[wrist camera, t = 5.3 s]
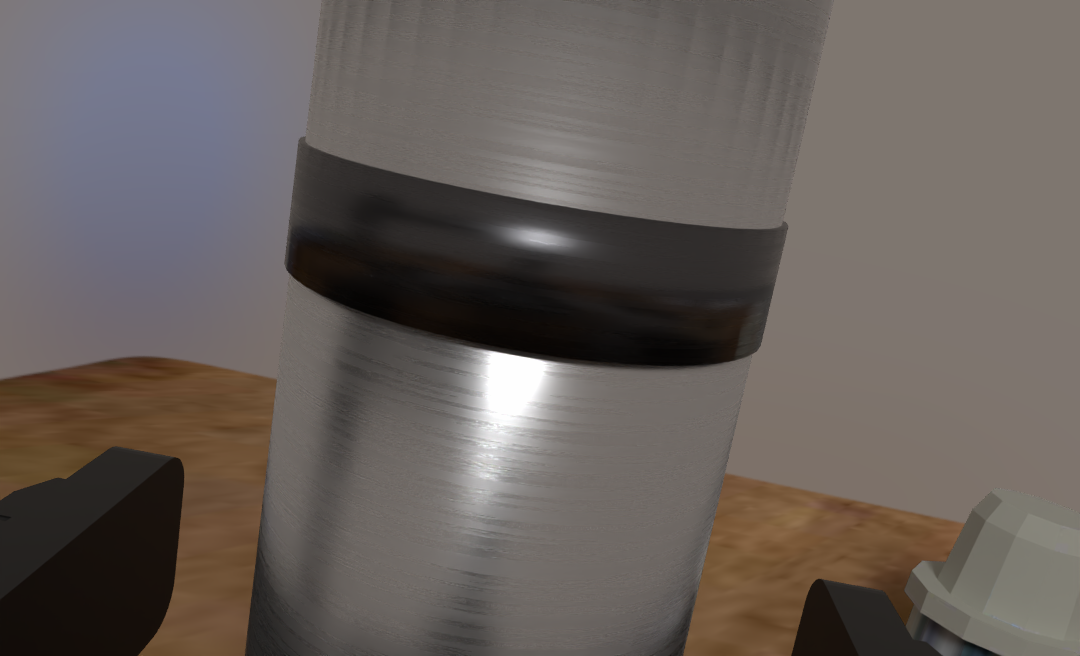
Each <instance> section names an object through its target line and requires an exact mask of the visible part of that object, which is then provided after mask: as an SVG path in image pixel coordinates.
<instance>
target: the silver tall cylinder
mask: <svg viewBox="0 0 1080 656" xmlns="http://www.w3.org/2000/svg"><path fill="white" fill-rule="evenodd" d="M833 1H834V0H322V3H321V11H320V20H319V28H318V37H317V45H316V54H315V62H314V71H313V80H312V88H311V96H310V105H309V114H308V122H307V130H306V136H305V137H302V138H300V140H299V144H298V151H297V160H296V168H295V178H294V186H293V195H292V203H291V213H290V220H289V229H288V238H287V246H286V255H285V266H286V269H287V271H288V272H289V273H290V275H289V284H288V292H287V301H286V309H285V317H284V327H283V334H282V343H281V353H280V360H279V368H278V377H277V385H276V394H275V402H274V411H273V419H272V428H271V436H270V445H269V453H268V462H267V470H266V479H265V487H264V496H263V504H262V513H261V521H260V530H259V538H258V547H257V556H256V564H255V573H254V581H253V590H252V598H251V607H250V615H249V624H248V632H247V641H246V649H245V656H683V653H684V648H685V644H686V640H687V635H688V631H689V627H690V622H691V618H692V614H693V609H694V605H695V601H696V596H697V592H698V588H699V583H700V579H701V575H702V570H703V566H704V562H705V557H706V553H707V549H708V544H709V540H710V536H711V531H712V527H713V523H714V518H715V514H716V510H717V505H718V501H719V497H720V492H721V488H722V484H723V479H724V475H725V471H726V466H727V462H728V458H729V453H730V449H731V444H732V440H733V436H734V431H735V427H736V423H737V418H738V414H739V409H740V405H741V400H742V396H743V392H744V388H745V383H746V379H747V375H748V371H749V366H750V362H751V358H752V354H753V353H755V352H756V351H757V350H758V349H759V347H760V346H761V342H762V338H763V333H764V329H765V325H766V320H767V316H768V311H769V307H770V303H771V299H772V294H773V290H774V286H775V282H776V277H777V273H778V269H779V264H780V260H781V256H782V251H783V247H784V243H785V238H786V234H787V230H788V225H787V223H786V222H784V221H783V219H784V214H785V210H786V205H787V201H788V197H789V193H790V188H791V184H792V180H793V175H794V171H795V167H796V162H797V158H798V153H799V149H800V145H801V141H802V136H803V132H804V128H805V123H806V119H807V115H808V110H809V106H810V102H811V97H812V93H813V88H814V84H815V80H816V75H817V71H818V67H819V63H820V58H821V54H822V49H823V45H824V41H825V37H826V32H827V28H828V23H829V19H830V15H831V11H832V6H833Z"/></svg>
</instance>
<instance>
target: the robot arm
mask: <svg viewBox="0 0 1080 656" xmlns="http://www.w3.org/2000/svg"><path fill="white" fill-rule="evenodd" d="M183 488H184V469H183V465H182V462H181V460H180V459H179V458H176V457H170V456H165V455H160V454H154V453H149V452H144V451H138V450H133V449H128V448H122V447H117V446H116V447H112V448H110V449H108V450H107V451H105V452H104V453H103V454H101V455H100V456H98V457H97V458H95V459H94V460H93V461H91V462H90V463H88V464H87V465H85V466H84V467H83V468H81V469H80V470H78V471H77V472H75V473H74V474H73V475H71V476H70V477H68V478H67V479H62V478H55V479H52V480H49V481H46V482H42V483H39V484H36V485H33V486H30V487H27V488H23V489H20V490H17V491H14V492H12V493H11V494H9V495H8V496H6V497H5V498H3V499H2V500H0V656H138V655H139V654H140V652H141V651H142V650H143V649H144V648H145V646H146V645H147V644H148V643H149V642H150V641H151V639H152V638H153V637H154V635H155V634H156V633H157V631H158V629H159V628H160V626H161V624H162V622H163V619H164V617H165V615H166V612H167V609H168V606H169V603H170V600H171V596H172V592H173V587H174V579H175V570H176V559H177V549H178V539H179V529H180V518H181V508H182V498H183ZM791 656H943V655H941V654H940V653H939V652H938V651H937V650H935V649H934V648H933V647H932V646H931V645H930V644H928V643H927V642H924V641H919V640H914V639H912V637H911V635H910V633H909V632H908V630H907V628H906V627H905V625H904V623H903V622H902V620H901V618H900V617H899V615H898V613H897V611H896V610H895V608H894V606H893V605H892V603H891V601H890V600H889V598H888V596H887V595H886V593H885V592H883V591H882V590H876V589H871V588H866V587H860V586H855V585H850V584H844V583H839V582H833V581H828V580H823V579H817V580H816V581H815V582H814V583H813V584H812V586H811V588H810V590H809V592H808V595H807V598H806V601H805V605H804V609H803V613H802V617H801V620H800V624H799V628H798V632H797V636H796V640H795V644H794V648H793V651H792V655H791Z"/></svg>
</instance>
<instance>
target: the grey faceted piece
mask: <svg viewBox="0 0 1080 656" xmlns="http://www.w3.org/2000/svg"><path fill="white" fill-rule="evenodd" d="M904 591H905V593H906V594H907V595H908V597H909V598H910V599H911V601H912V602H913V603H914V606H913V608H912V611H911V613H910V616H909V619H908V621H907V624H906V626H905V627H906V628H907V630H908V632H909V633H910V635H911V637H912V639H914V640H919V641H924V642H927V643H928V644H930V645H931V646H932V647H933V648H934V649H935V650H937V651H938V652H939V653H940V654H941V655H943V656H1080V513H1078V512H1076V511H1073V510H1072V509H1070V508H1067V507H1064V506H1061V505H1059V504H1056V503H1053V502H1050V501H1048V500H1045V499H1042V498H1039V497H1036V496H1032V495H1028V494H1025V493H1021V492H1017V491H1014V490H1007V489H999V488H995V489H993V491H991V492H990V493H989V494H988V495H987V496H986V497H985V498H984V499H983V500H982V501H981V502H980V503H979V504H978V505H977V506H976V507H975V508H974V509H973V510H972V511H971V514H970V515H969V518H968V519H967V521H966V523H965V525H964V527H963V529H962V531H961V533H960V535H959V537H958V539H957V541H956V543H955V545H954V547H953V549H952V551H951V553H950V555H949V557H948V559H947V561H946V562H936V561H922V562H921V563H919V564H918V565H917V566H916V567H915V568H914V569H913V570H912V571H911V574H910V577H909V579H908V582H907V585H906V587H905V590H904Z"/></svg>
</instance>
